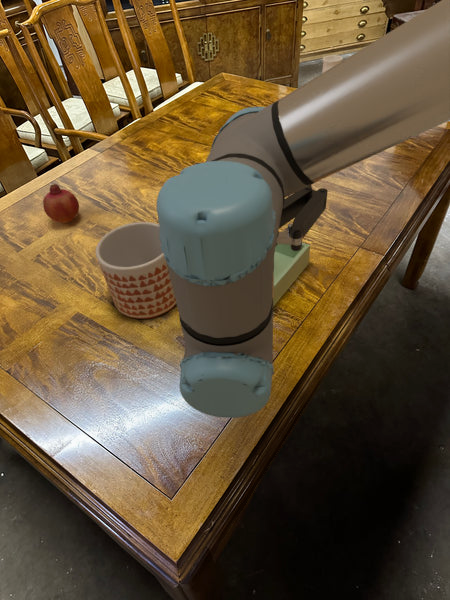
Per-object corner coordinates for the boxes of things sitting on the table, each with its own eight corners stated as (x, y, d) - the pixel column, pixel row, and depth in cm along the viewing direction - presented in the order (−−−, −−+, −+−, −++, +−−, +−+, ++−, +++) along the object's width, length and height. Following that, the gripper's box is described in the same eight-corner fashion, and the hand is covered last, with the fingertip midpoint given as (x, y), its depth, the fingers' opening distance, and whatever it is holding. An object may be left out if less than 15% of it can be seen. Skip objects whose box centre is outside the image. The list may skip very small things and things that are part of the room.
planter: (190, 309, 79) (179, 257, 70) (118, 328, 77) (98, 277, 68) (175, 265, 89) (164, 214, 80) (111, 281, 87) (92, 230, 78)
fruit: (54, 213, 107) (39, 178, 100) (85, 210, 107) (72, 174, 100) (47, 232, 101) (31, 196, 94) (81, 228, 101) (66, 192, 94)
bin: (308, 264, 86) (310, 244, 82) (269, 311, 77) (269, 292, 73) (245, 241, 93) (244, 222, 89) (202, 282, 84) (199, 263, 81)
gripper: (130, 296, 48) (165, 195, 62) (355, 297, 45) (336, 192, 59) (112, 243, 42) (155, 147, 57) (367, 241, 39) (343, 140, 54)
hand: (248, 170), depth 58 cm, fingers open, 13 cm apart
